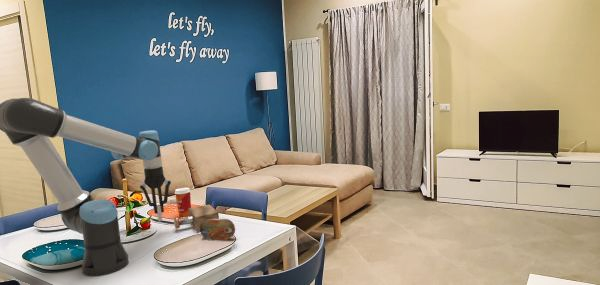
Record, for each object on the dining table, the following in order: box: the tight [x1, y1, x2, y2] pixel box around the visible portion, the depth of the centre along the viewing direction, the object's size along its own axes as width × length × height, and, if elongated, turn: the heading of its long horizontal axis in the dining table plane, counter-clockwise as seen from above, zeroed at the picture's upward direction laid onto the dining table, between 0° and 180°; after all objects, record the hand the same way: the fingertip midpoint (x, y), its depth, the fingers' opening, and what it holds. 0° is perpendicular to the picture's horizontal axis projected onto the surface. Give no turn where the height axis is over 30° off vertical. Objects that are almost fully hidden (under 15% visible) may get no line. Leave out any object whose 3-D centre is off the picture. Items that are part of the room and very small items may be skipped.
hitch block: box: [188, 204, 220, 233], centre depth 186 cm, size 10×16×7 cm, turn 26°
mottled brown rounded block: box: [199, 218, 236, 241], centre depth 167 cm, size 15×3×8 cm, turn 73°
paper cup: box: [174, 187, 192, 218], centre depth 200 cm, size 8×8×14 cm
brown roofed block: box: [173, 215, 194, 230], centre depth 183 cm, size 14×5×5 cm, turn 116°
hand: (160, 220), depth 178 cm, fingers closed
